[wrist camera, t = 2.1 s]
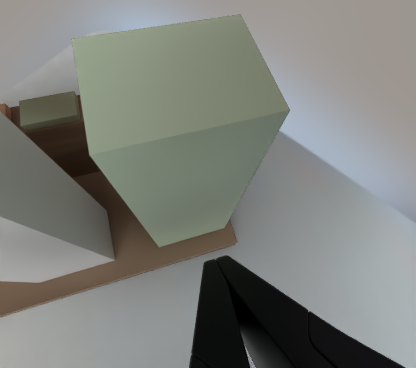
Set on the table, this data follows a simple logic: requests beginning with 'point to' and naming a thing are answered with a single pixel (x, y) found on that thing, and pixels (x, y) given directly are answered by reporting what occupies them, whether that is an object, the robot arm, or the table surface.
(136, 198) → the sage key
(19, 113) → the keypad base
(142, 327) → the table surface
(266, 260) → the table surface
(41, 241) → the light grey tall block
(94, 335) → the table surface
